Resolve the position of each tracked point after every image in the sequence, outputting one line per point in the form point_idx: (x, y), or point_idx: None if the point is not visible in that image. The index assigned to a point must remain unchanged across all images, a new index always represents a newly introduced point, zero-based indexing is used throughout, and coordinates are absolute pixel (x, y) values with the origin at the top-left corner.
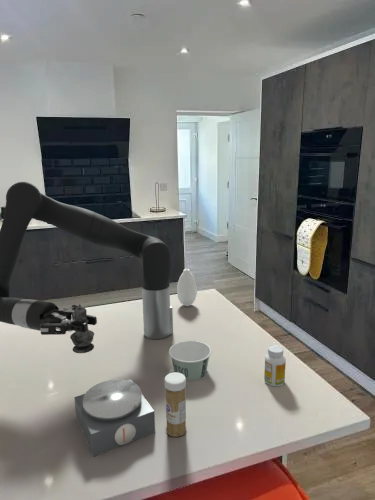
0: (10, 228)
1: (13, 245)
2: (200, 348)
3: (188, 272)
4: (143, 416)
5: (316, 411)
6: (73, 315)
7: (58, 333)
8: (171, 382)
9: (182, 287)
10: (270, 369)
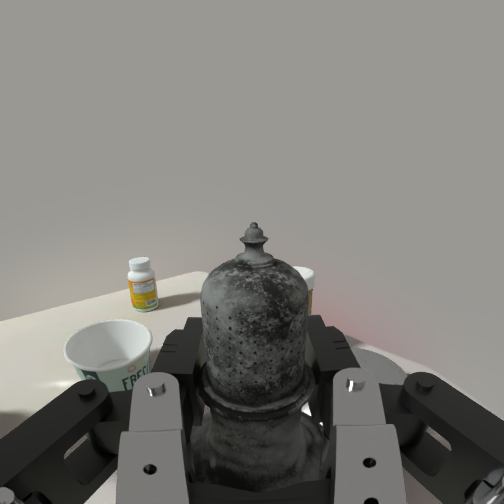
0: None
1: None
2: (81, 343)
3: None
4: None
5: (199, 285)
6: (188, 455)
7: (435, 444)
8: (311, 271)
9: None
10: (153, 285)
